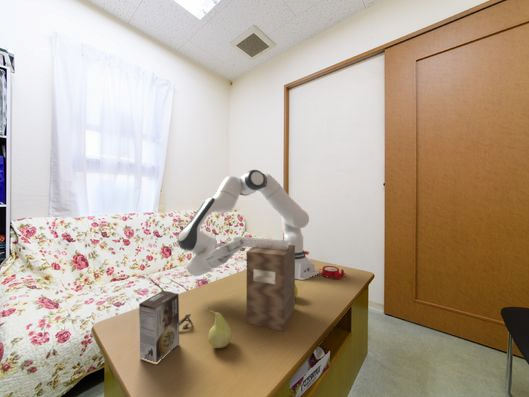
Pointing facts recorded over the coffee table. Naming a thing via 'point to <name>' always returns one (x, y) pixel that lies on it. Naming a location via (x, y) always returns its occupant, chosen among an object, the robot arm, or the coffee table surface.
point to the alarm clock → (332, 272)
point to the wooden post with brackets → (185, 320)
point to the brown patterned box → (270, 287)
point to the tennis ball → (296, 291)
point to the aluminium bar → (263, 243)
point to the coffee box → (159, 325)
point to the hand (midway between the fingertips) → (243, 240)
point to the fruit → (219, 332)
